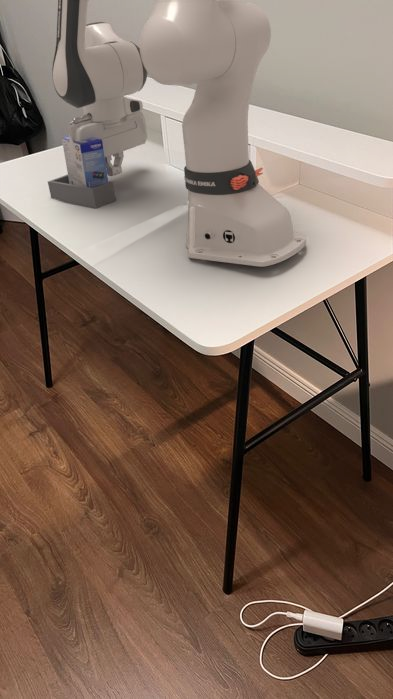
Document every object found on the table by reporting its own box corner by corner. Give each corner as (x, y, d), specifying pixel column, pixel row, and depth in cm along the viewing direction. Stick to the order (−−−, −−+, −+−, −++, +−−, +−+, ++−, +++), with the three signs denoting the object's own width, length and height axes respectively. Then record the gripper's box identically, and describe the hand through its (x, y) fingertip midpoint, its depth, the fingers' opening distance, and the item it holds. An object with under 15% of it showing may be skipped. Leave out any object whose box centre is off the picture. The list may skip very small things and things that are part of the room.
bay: (115, 200, 131) (112, 181, 129) (95, 208, 127) (92, 189, 125) (71, 192, 140) (67, 174, 137) (51, 199, 136) (47, 181, 134)
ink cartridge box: (113, 197, 133) (101, 126, 126) (89, 203, 131) (76, 132, 124) (93, 188, 141) (80, 121, 133) (70, 194, 138) (56, 126, 131)
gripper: (77, 120, 123) (90, 189, 130) (147, 100, 136) (155, 163, 143) (57, 119, 127) (70, 186, 134) (127, 99, 140) (135, 161, 147)
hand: (114, 174), depth 139 cm, fingers closed
